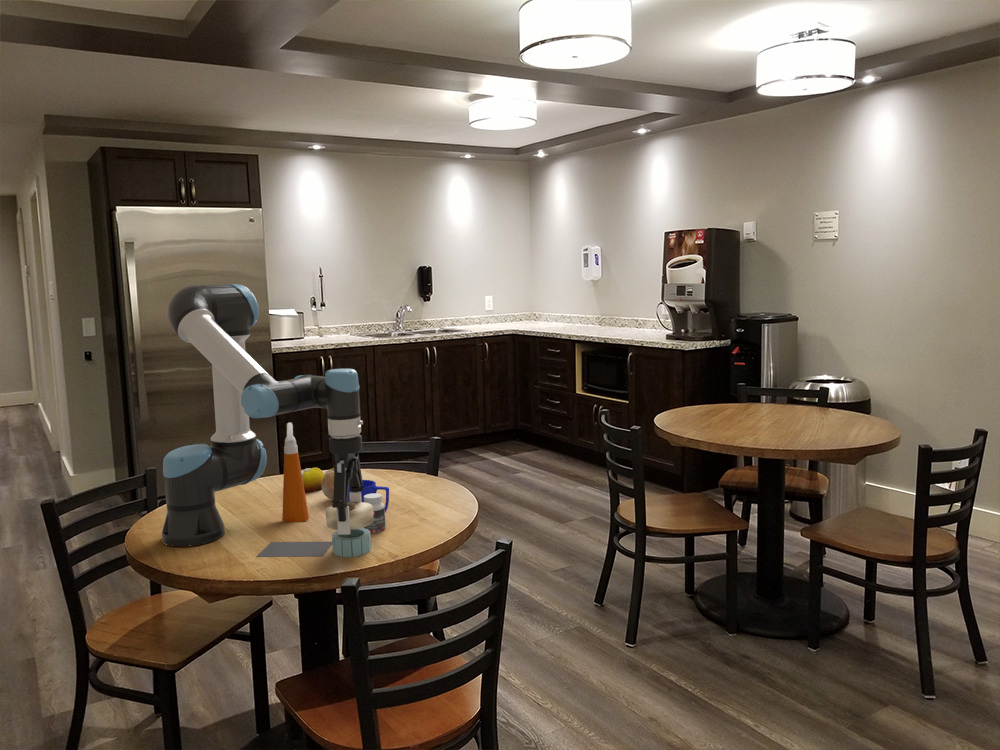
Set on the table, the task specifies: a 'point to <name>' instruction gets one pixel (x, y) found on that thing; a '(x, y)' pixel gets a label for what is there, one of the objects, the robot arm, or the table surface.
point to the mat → (295, 549)
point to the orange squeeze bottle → (293, 482)
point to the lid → (352, 515)
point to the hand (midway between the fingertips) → (350, 525)
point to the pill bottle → (376, 512)
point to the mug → (371, 491)
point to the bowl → (352, 543)
